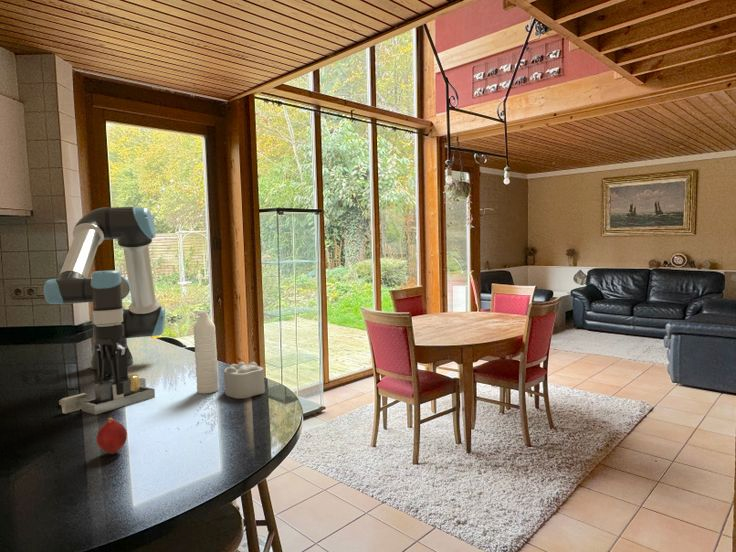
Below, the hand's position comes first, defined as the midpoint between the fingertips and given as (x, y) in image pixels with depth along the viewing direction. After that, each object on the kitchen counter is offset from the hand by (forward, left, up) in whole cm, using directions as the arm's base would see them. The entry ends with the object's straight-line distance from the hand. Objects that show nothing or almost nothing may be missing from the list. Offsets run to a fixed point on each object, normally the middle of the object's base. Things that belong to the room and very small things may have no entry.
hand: (114, 404), depth 140 cm
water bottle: (-23, +13, -1) cm, 26 cm away
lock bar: (-2, 0, 0) cm, 2 cm away
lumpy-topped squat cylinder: (-27, +25, -1) cm, 36 cm away
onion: (+19, +35, -1) cm, 40 cm away
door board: (-1, -7, 0) cm, 7 cm away
